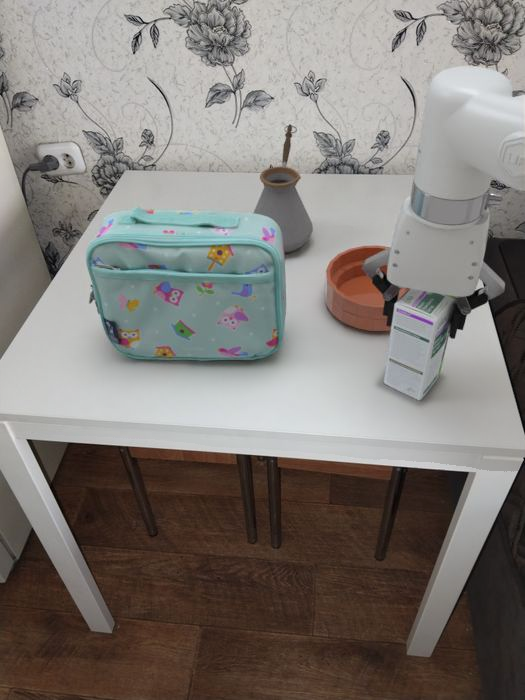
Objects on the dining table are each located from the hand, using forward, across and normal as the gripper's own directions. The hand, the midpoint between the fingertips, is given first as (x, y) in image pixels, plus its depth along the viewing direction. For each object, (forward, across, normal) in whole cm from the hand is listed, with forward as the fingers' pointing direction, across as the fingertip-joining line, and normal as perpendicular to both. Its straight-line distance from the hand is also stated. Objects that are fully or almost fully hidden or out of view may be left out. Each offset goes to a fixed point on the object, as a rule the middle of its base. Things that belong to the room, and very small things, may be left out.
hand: (421, 324), depth 74 cm
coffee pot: (+10, +28, -32) cm, 44 cm away
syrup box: (+10, 0, 0) cm, 10 cm away
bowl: (+10, +8, -15) cm, 20 cm away
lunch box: (+10, +31, +2) cm, 33 cm away
